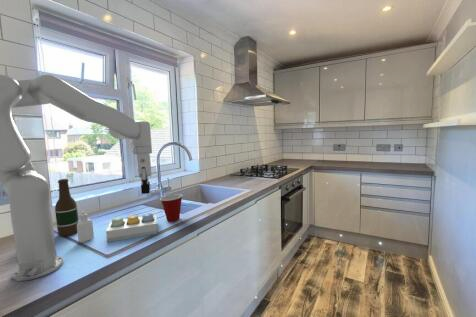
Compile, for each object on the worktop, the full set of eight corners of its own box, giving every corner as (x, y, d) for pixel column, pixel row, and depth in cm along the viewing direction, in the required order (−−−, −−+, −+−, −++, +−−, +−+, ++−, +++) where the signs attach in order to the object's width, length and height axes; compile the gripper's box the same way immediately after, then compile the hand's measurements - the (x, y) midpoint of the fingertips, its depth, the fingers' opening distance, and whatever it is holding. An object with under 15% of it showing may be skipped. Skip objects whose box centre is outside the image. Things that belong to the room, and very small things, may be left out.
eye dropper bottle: (77, 240, 98) (74, 211, 96) (93, 236, 101) (90, 208, 100) (79, 243, 95) (75, 214, 93) (95, 239, 98) (92, 211, 97)
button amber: (138, 225, 102) (138, 217, 102) (127, 227, 101) (126, 219, 100) (139, 222, 106) (138, 214, 106) (128, 223, 105) (127, 216, 105)
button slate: (153, 223, 104) (152, 215, 104) (142, 225, 103) (142, 217, 102) (153, 220, 108) (152, 212, 108) (143, 221, 107) (142, 214, 107)
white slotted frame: (157, 233, 102) (156, 223, 101) (107, 242, 95) (106, 231, 95) (156, 223, 113) (156, 214, 112) (111, 230, 106) (110, 220, 106)
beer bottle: (71, 236, 101) (65, 181, 99) (53, 237, 101) (46, 181, 99) (83, 229, 109) (78, 177, 106) (67, 229, 109) (60, 178, 106)
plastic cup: (168, 215, 124) (167, 192, 122) (187, 216, 121) (186, 193, 120) (156, 223, 113) (154, 198, 112) (177, 224, 111) (175, 199, 109)
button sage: (123, 228, 100) (122, 220, 100) (111, 229, 99) (110, 221, 98) (124, 224, 104) (123, 216, 104) (113, 226, 103) (112, 218, 103)
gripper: (151, 151, 95) (155, 195, 98) (151, 148, 111) (154, 187, 113) (131, 152, 93) (135, 198, 95) (134, 149, 108) (137, 189, 111)
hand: (145, 191), depth 104 cm, fingers open, 3 cm apart
